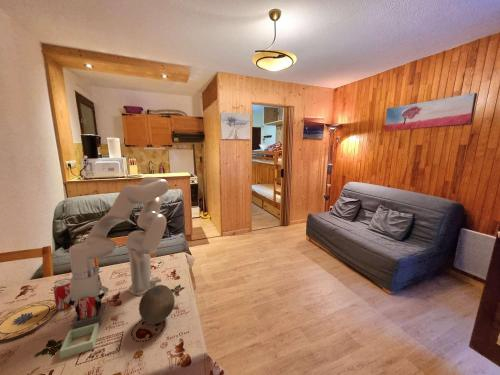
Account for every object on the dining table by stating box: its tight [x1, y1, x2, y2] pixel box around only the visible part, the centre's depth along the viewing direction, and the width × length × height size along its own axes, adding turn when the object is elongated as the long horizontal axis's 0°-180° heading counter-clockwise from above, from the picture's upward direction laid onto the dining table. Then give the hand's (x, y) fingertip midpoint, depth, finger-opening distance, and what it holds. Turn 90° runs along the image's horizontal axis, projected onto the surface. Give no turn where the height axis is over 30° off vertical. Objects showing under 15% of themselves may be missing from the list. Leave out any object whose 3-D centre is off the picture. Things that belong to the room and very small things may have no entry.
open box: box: [59, 302, 106, 360], centre depth 86 cm, size 10×22×3 cm, turn 25°
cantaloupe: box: [138, 284, 176, 325], centre depth 90 cm, size 14×14×15 cm
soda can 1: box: [53, 278, 73, 310], centre depth 98 cm, size 7×7×12 cm
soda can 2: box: [78, 296, 99, 320], centre depth 91 cm, size 6×6×12 cm
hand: (89, 310), depth 91 cm, fingers closed on soda can 2, 6 cm apart
